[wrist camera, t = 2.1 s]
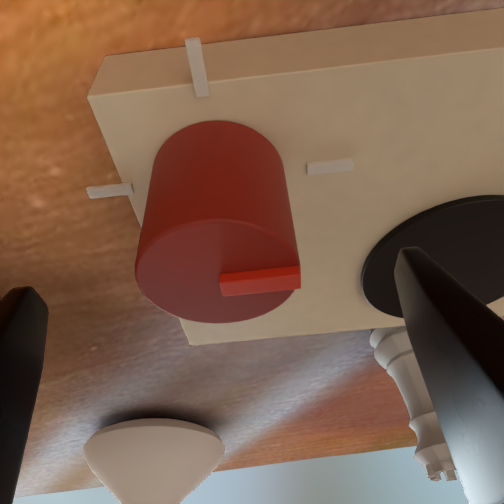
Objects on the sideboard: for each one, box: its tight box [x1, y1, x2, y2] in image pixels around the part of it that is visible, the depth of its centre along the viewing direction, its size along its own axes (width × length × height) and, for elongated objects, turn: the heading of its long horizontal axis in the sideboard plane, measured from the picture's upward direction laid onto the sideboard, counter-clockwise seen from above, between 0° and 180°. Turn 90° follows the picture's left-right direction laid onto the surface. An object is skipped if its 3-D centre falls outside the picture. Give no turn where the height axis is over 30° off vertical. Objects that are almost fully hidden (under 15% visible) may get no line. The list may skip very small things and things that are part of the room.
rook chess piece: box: [370, 326, 456, 481], centre depth 22 cm, size 4×4×8 cm
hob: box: [86, 8, 504, 346], centre depth 16 cm, size 17×14×3 cm
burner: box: [360, 195, 504, 318], centre depth 16 cm, size 7×7×1 cm
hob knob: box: [135, 120, 301, 324], centre depth 11 cm, size 4×4×4 cm
